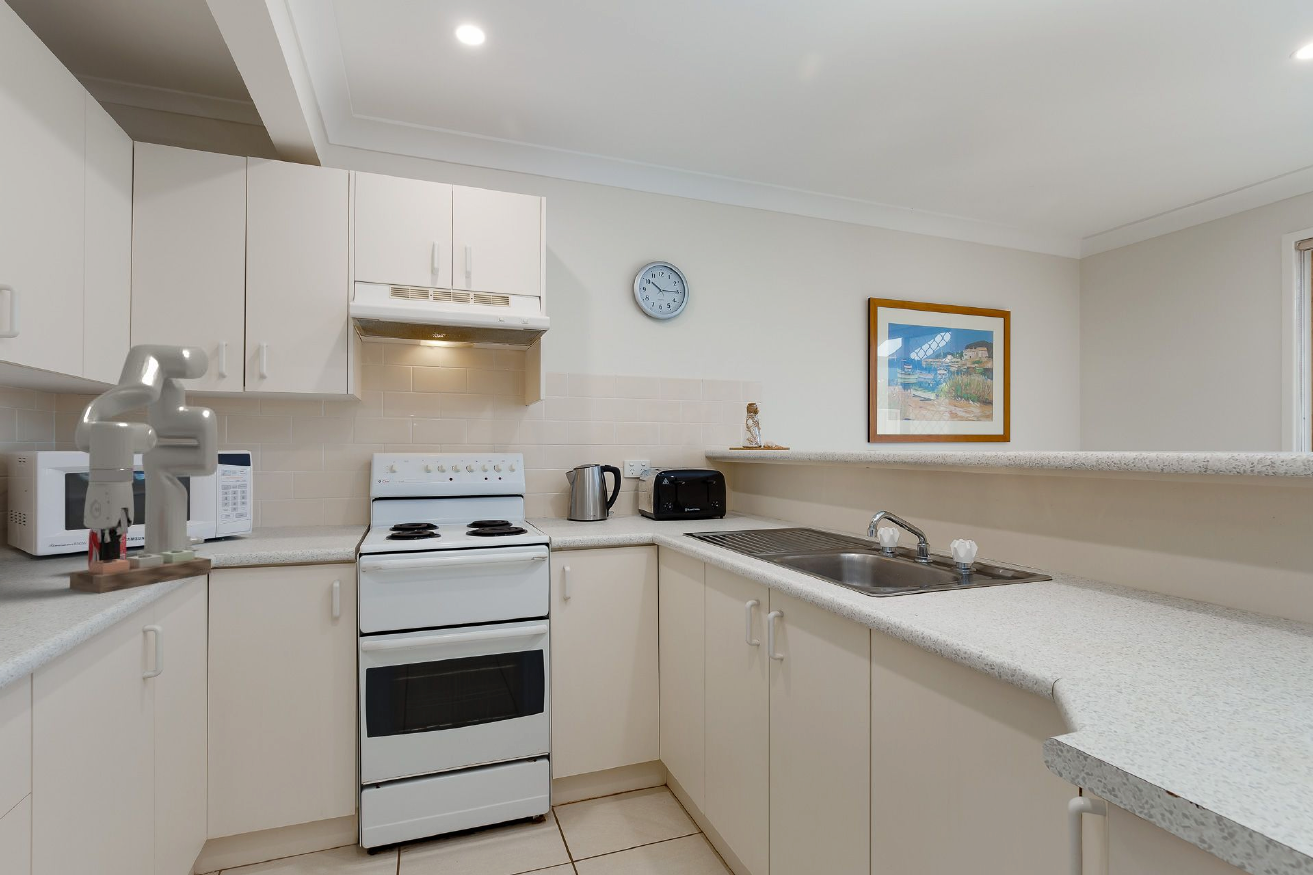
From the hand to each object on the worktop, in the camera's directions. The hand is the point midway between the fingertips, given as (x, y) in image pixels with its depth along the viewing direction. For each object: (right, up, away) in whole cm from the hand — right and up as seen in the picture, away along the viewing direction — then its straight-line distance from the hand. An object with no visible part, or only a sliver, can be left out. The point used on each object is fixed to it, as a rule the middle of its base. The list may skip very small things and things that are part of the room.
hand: (109, 559), depth 141 cm
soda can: (-14, -6, +16) cm, 22 cm away
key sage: (+5, -4, +13) cm, 15 cm away
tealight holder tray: (+2, -6, +7) cm, 9 cm away
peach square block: (0, -4, 0) cm, 4 cm away
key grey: (+2, -4, +7) cm, 8 cm away
